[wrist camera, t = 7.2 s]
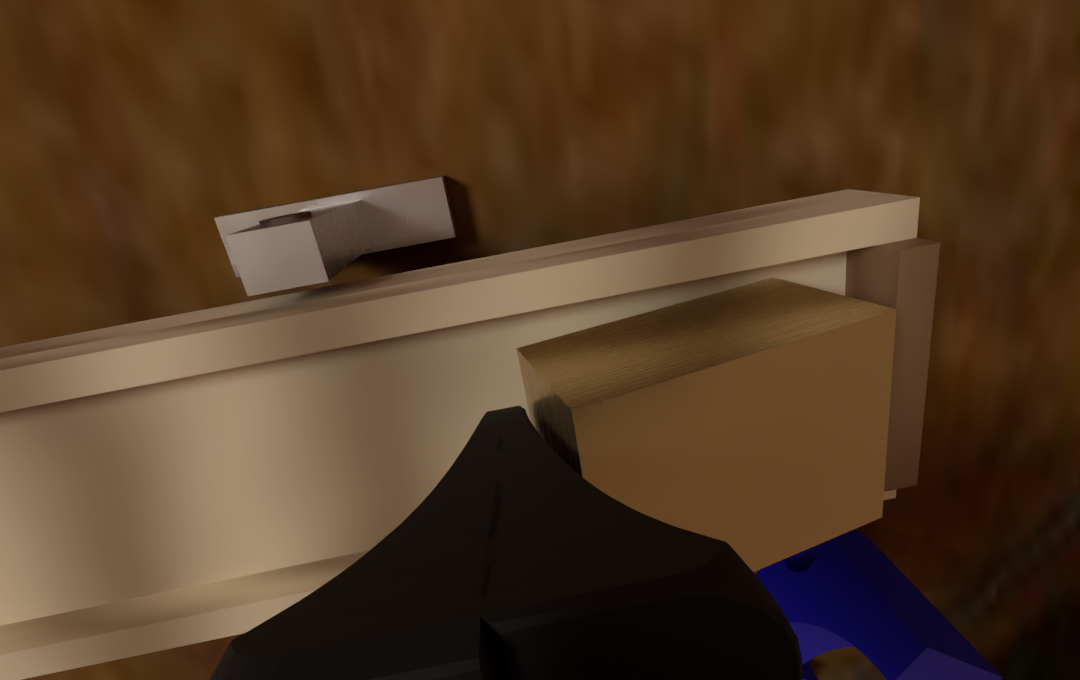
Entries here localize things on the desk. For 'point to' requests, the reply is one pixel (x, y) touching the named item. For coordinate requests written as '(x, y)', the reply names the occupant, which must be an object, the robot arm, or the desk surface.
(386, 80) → the desk surface
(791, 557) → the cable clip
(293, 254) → the pivot stand
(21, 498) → the balance beam
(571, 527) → the robot arm
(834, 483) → the block
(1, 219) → the desk surface
